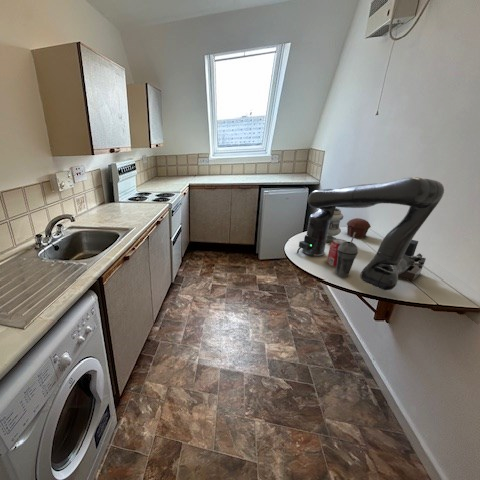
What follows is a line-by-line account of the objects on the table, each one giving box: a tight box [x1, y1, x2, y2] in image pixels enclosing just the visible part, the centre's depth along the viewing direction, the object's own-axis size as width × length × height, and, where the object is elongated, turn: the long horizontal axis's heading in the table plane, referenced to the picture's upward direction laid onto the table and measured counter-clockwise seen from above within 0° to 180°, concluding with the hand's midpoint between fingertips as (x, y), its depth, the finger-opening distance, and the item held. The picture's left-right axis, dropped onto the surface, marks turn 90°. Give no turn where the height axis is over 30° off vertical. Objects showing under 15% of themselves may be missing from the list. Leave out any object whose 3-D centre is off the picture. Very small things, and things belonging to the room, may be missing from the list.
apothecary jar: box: [326, 207, 344, 243], centre depth 152 cm, size 12×12×18 cm
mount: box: [398, 265, 423, 282], centre depth 116 cm, size 10×10×4 cm
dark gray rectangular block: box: [405, 239, 419, 270], centre depth 113 cm, size 3×5×15 cm, turn 125°
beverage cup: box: [335, 232, 359, 278], centre depth 113 cm, size 7×7×20 cm
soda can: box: [326, 238, 348, 268], centre depth 124 cm, size 7×7×12 cm
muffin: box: [346, 217, 372, 239], centre depth 156 cm, size 12×11×10 cm
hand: (409, 253), depth 114 cm, fingers open, 6 cm apart
